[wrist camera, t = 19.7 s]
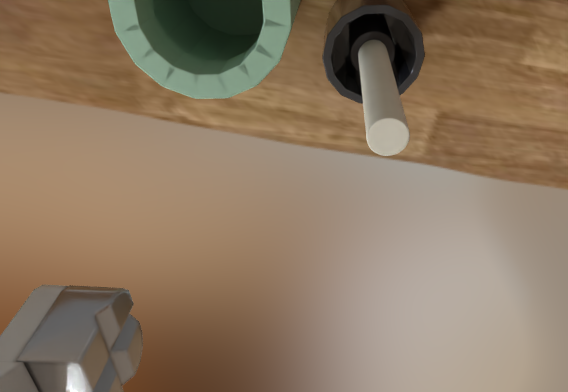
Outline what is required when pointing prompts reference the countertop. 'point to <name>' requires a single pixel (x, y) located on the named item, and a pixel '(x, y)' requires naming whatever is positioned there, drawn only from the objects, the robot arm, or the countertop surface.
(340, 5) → the holder
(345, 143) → the countertop surface
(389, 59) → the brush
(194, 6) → the jar
